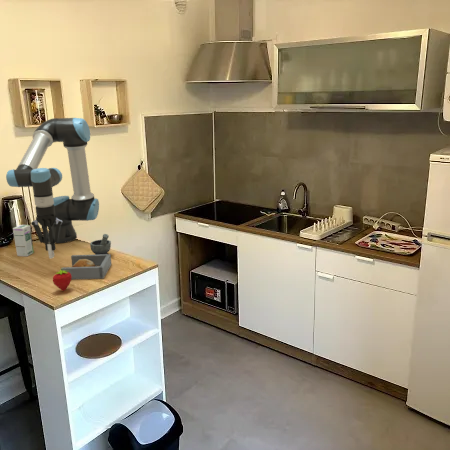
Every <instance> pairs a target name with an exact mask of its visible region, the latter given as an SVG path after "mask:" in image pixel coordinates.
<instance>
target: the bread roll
mask: <svg viewBox="0 0 450 450" xmlns="http://www.w3.org/2000/svg"><path fill="white" fill-rule="evenodd" d="M73 267H97V266H95V264H94V263H93V262H92V261H90V260H88V259H80V260H78V261H77V262H76V263H75V264H74V265H73Z"/></svg>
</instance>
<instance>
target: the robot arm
mask: <svg viewBox="0 0 450 450" xmlns="http://www.w3.org/2000/svg"><path fill="white" fill-rule="evenodd" d="M90 140H91V131H90V126H89V124H88V122H87V121H86V120H85V119H84V118H82V117H81V118H79V117H62V118H61V117H58V118H57V117H55V118H54V117H53V118H50V119H47V120H46V121H44V122H42V123H41V124H40V125H39V126H37V127H36V128H35V129H34V132H33V134H32V141H31V142H30V144H29V145H28V147H27V149H26V151H25V153H24V155H23V157H22V158H21V160H20V162H19V164H18V165H17V167H16V169H9V170H8V171H7V173H6V177H5V178H6V182H7V185H9V186H10V187H16V188H26V187H27V188H29V187H30V188H32V192H33V200H34V205H35V213H36V217H35V220H32V222H30V223H31V226H32V227H33V228H34V231H35V233H36V235H37V237H38V240H39V242H40V243H41V244H44V246H45V251H47V252H48V253H47V254H48V258H49V259H54V257H55V251H56V244H63V243H64V244H65V243H68V242H69V243H70V242H72V241H75V240H76V239H77V238H78V235H77V232H76V230H75V228H74V225H73V221H79V222H80V221H85V222H88V221H94V220H96V219H97V217H98V215H99V210H100V201H99V198H96V197H95V193H92V192H91V186H90V185H91V184H90V177H89V176H90V175H89V168H88V162H87V161H88V160H87V156H86V155H87V154H86V148H87V145H88V143H89V142H90ZM53 143H63V147H64V148H65V149H66V150H67V155H68V156H67V157H68V164H69V170H70V178H71V183H72V190H73V194H72V195H71V198H70V196H69V195H61V196H60V195H59V196H55V197H54V194H53V193H54V192H53V187H56V186H58V185H59V184H60V183H61V182H62V180H63V173H62V172H61V170H60V169H58V168H56V167H49V168H47V167H39V166H40V163H41V162H42V161H43V158H44V156H45V154H46V152H47V149H49V147H51V146H52V145H53ZM39 224H40V225H39ZM40 226H41V227H40Z"/></svg>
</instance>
